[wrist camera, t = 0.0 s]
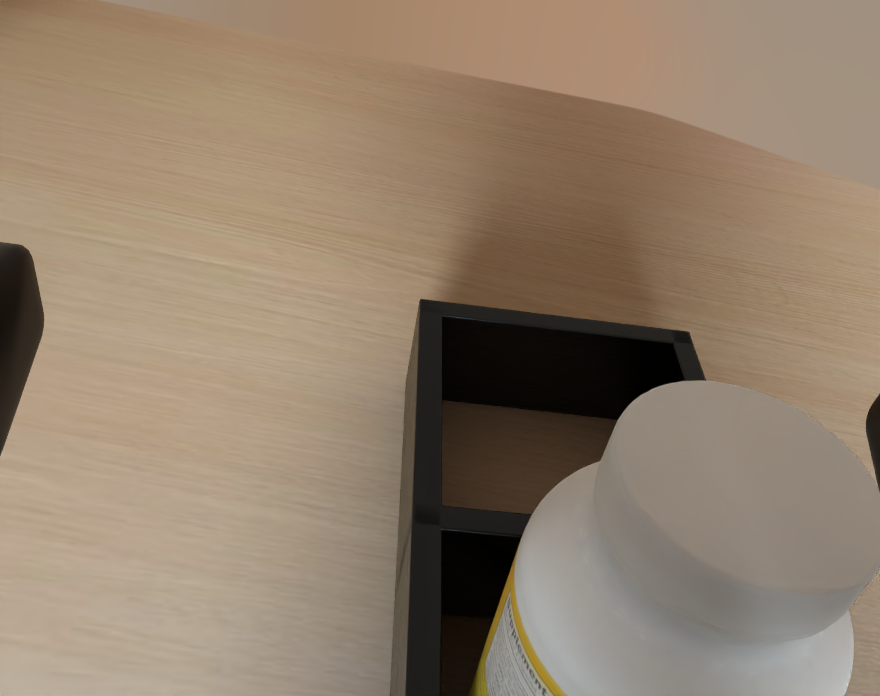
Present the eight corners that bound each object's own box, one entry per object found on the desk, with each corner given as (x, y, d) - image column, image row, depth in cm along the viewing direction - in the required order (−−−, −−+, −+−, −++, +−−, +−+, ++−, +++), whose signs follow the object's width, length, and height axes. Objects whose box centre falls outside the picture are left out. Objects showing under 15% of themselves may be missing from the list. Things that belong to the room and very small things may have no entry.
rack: (822, 1017, 18) (918, 966, 15) (374, 998, 17) (396, 941, 14) (654, 409, 32) (689, 331, 30) (405, 381, 31) (419, 298, 29)
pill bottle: (665, 656, 24) (851, 360, 17) (734, 915, 19) (1042, 660, 12) (445, 647, 23) (537, 331, 16) (458, 916, 18) (601, 642, 11)
